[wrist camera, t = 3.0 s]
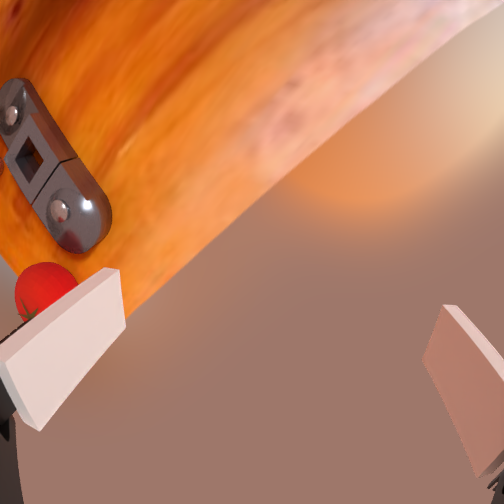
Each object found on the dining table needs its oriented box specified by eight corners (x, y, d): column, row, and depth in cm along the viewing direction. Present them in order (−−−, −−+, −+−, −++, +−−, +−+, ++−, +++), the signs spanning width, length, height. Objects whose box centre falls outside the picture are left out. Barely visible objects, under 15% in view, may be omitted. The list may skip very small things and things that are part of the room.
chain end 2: (21, 153, 34) (0, 160, 30) (48, 111, 31) (26, 114, 27) (89, 252, 40) (71, 267, 36) (123, 218, 37) (105, 231, 33)
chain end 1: (-3, 109, 31) (-14, 111, 29) (22, 67, 28) (10, 67, 26) (47, 196, 37) (36, 201, 34) (78, 156, 34) (66, 159, 31)
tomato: (62, 316, 47) (31, 350, 37) (31, 261, 42) (-7, 290, 33) (104, 306, 44) (70, 347, 34) (69, 242, 40) (25, 275, 30)
